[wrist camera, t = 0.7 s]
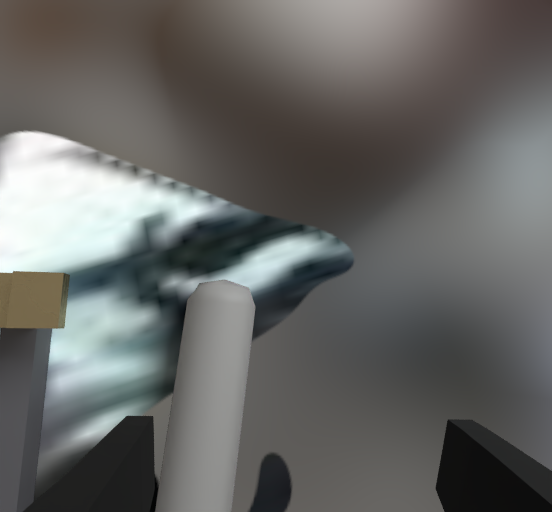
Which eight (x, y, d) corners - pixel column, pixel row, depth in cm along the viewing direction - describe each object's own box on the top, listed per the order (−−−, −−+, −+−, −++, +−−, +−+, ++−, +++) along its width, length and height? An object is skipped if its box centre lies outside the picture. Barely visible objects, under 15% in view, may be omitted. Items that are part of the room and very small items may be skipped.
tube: (174, 269, 25) (99, 736, 20) (254, 277, 24) (196, 764, 19) (200, 281, 30) (145, 655, 25) (267, 287, 29) (223, 674, 24)
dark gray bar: (13, 683, 23) (-9, 726, 20) (-24, 688, 22) (-51, 733, 20) (56, 282, 27) (42, 278, 24) (25, 281, 26) (7, 277, 24)
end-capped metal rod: (59, 676, 23) (7, 808, 17) (-44, 691, 22) (-140, 838, 16) (95, 283, 27) (63, 272, 21) (9, 281, 26) (-51, 269, 20)
